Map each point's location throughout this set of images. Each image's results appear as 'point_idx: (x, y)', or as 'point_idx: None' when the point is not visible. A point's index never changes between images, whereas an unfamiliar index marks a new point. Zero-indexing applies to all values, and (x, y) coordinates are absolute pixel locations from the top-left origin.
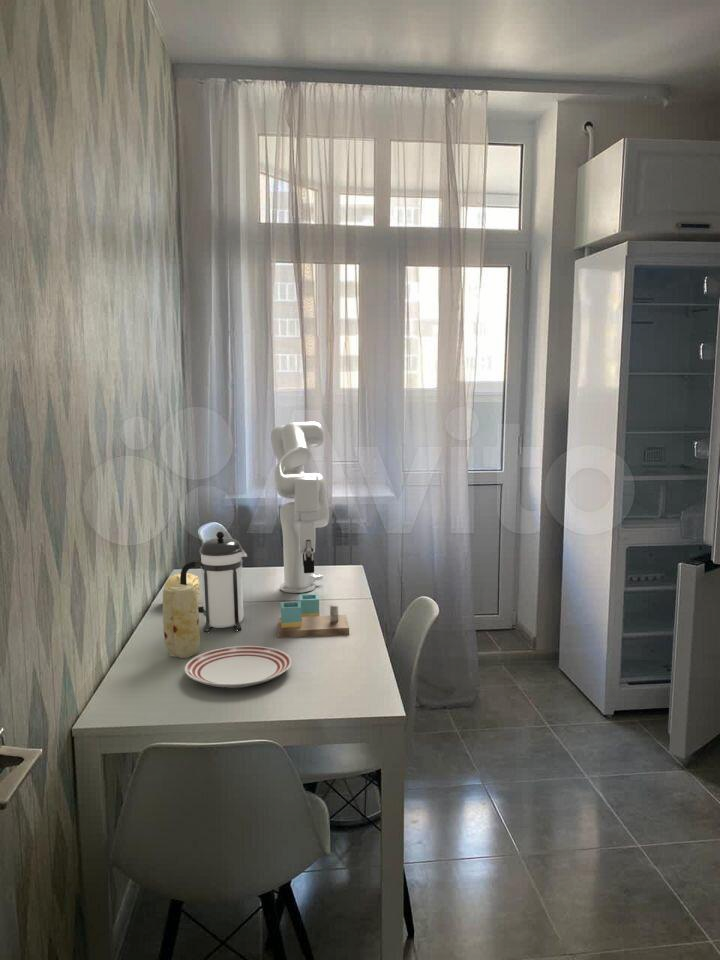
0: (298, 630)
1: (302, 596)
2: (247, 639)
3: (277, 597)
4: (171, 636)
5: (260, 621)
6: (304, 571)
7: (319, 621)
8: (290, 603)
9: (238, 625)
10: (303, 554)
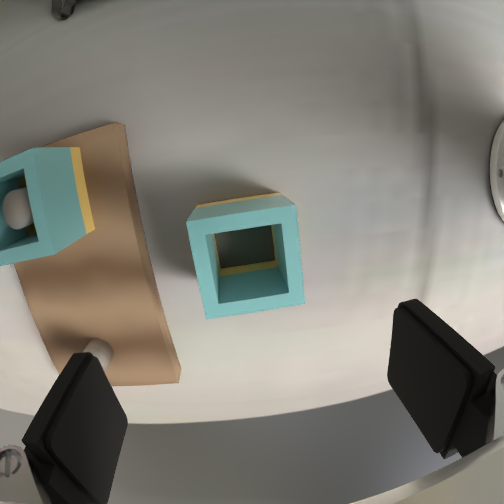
0: None
1: (279, 222)
2: (2, 73)
3: (457, 96)
4: None
5: (163, 45)
6: (72, 362)
7: (91, 302)
8: (32, 202)
9: (56, 7)
10: (467, 379)
